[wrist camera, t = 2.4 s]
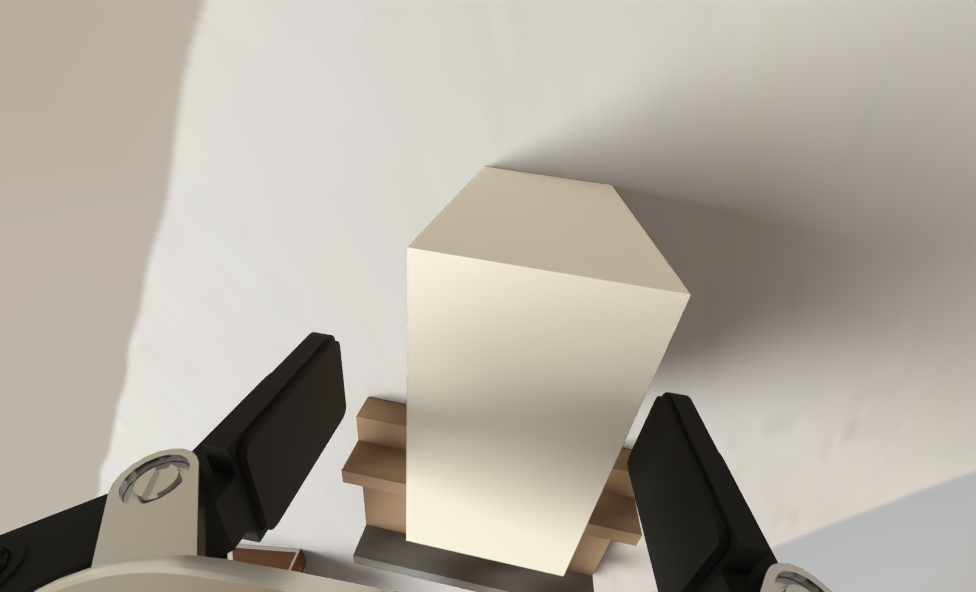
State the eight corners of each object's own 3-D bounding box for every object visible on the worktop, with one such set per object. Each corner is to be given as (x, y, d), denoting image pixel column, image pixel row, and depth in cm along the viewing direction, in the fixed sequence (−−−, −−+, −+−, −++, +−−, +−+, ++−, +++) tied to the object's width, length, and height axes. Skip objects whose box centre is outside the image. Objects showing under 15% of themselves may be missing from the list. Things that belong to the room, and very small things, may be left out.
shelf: (639, 451, 20) (655, 513, 17) (580, 571, 27) (584, 631, 24) (368, 397, 22) (338, 446, 18) (376, 526, 28) (356, 577, 25)
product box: (611, 184, 14) (691, 294, 6) (557, 378, 19) (563, 576, 11) (479, 165, 14) (396, 245, 7) (460, 360, 19) (400, 539, 11)
